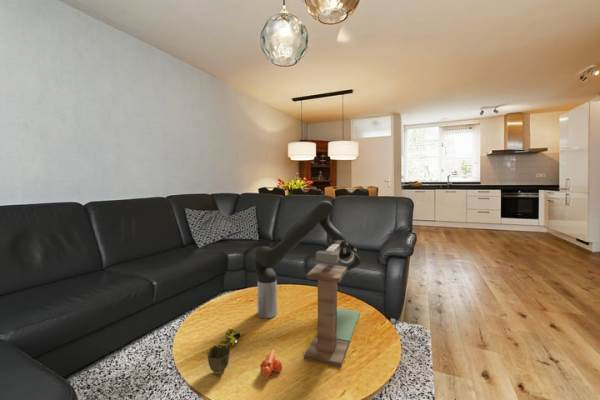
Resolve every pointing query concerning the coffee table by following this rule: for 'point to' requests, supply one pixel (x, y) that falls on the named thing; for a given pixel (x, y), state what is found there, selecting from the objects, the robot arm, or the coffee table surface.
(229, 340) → the toy motorcycle
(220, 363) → the cup
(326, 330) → the stand
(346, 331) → the mat
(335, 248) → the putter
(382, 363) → the coffee table surface
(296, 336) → the coffee table surface
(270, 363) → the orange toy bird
